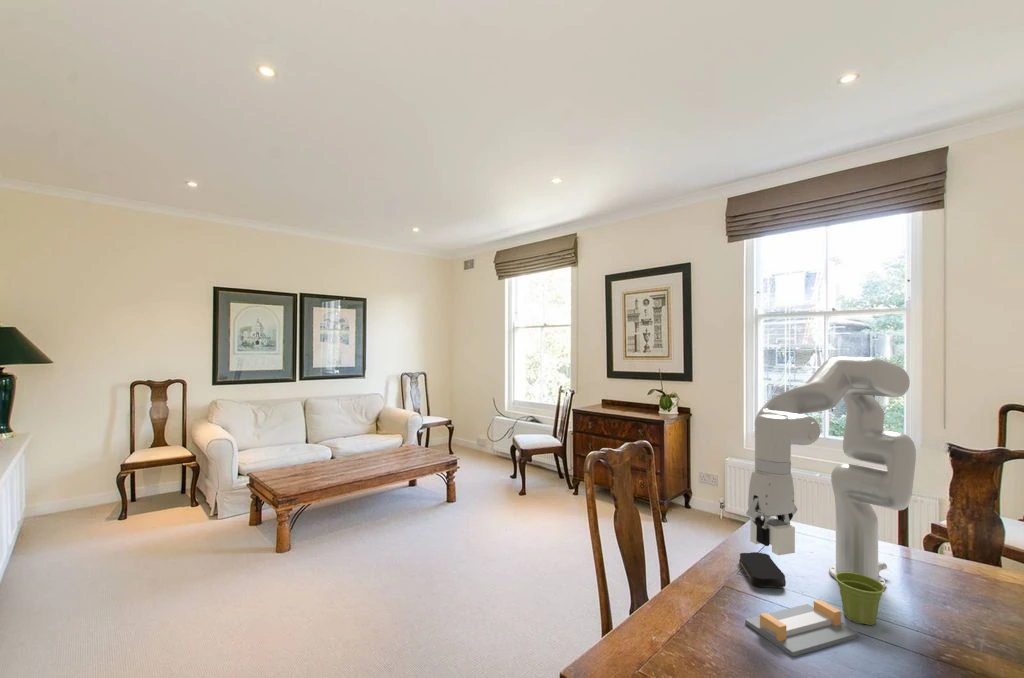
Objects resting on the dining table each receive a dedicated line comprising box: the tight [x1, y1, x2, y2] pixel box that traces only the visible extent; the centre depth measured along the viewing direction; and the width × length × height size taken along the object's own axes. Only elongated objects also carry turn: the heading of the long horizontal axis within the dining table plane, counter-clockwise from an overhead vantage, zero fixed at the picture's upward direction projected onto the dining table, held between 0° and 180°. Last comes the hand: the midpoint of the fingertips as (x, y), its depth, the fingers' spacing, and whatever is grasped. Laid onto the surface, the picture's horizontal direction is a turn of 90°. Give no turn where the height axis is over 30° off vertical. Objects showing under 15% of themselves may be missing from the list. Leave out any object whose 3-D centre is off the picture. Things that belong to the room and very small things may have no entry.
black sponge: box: [738, 551, 787, 589], centre depth 128 cm, size 16×8×4 cm, turn 168°
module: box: [749, 516, 796, 556], centre depth 109 cm, size 5×8×6 cm, turn 18°
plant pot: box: [834, 572, 886, 626], centre depth 108 cm, size 9×9×9 cm
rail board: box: [744, 599, 860, 658], centre depth 103 cm, size 20×12×4 cm, turn 110°
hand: (772, 541), depth 109 cm, fingers closed on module, 5 cm apart
